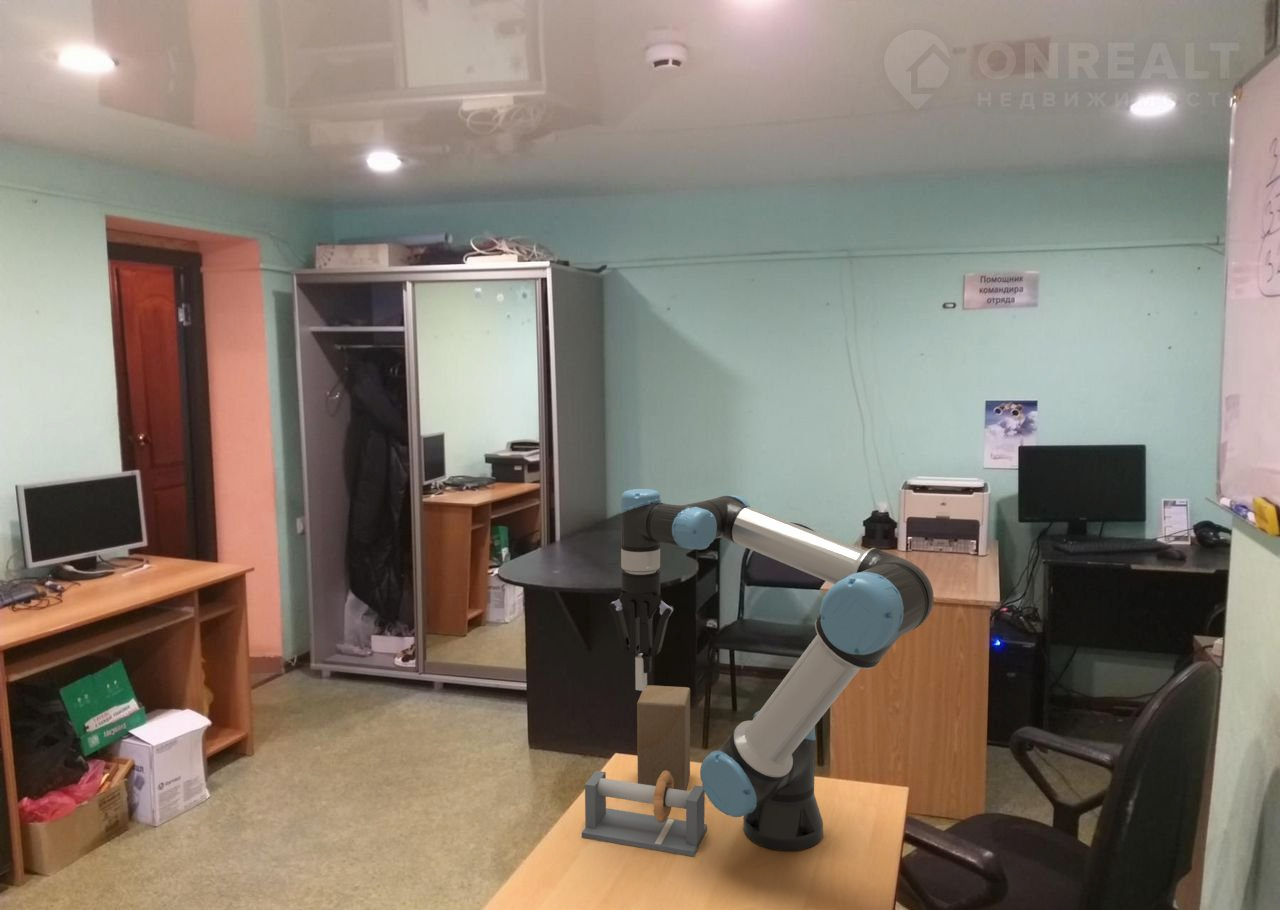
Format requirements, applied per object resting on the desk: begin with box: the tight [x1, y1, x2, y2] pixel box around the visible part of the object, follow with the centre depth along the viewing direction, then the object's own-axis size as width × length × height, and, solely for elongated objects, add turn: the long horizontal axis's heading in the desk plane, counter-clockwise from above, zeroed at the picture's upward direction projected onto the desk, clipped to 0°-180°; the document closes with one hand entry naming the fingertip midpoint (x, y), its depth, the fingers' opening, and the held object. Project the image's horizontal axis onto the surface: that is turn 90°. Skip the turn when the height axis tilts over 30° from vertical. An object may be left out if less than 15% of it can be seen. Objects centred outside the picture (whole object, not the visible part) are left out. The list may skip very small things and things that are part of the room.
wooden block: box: [636, 684, 691, 791], centre depth 190 cm, size 10×10×20 cm
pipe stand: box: [581, 770, 708, 858], centre depth 171 cm, size 22×10×10 cm, turn 72°
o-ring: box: [653, 770, 674, 823], centre depth 170 cm, size 2×9×9 cm, turn 162°
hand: (641, 687), depth 175 cm, fingers closed
